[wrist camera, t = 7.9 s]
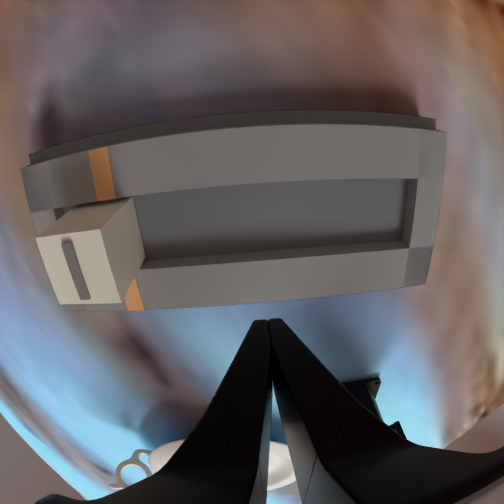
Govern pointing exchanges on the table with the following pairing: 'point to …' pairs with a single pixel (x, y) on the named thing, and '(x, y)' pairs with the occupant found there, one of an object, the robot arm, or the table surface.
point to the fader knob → (93, 252)
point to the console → (258, 203)
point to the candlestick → (278, 454)
